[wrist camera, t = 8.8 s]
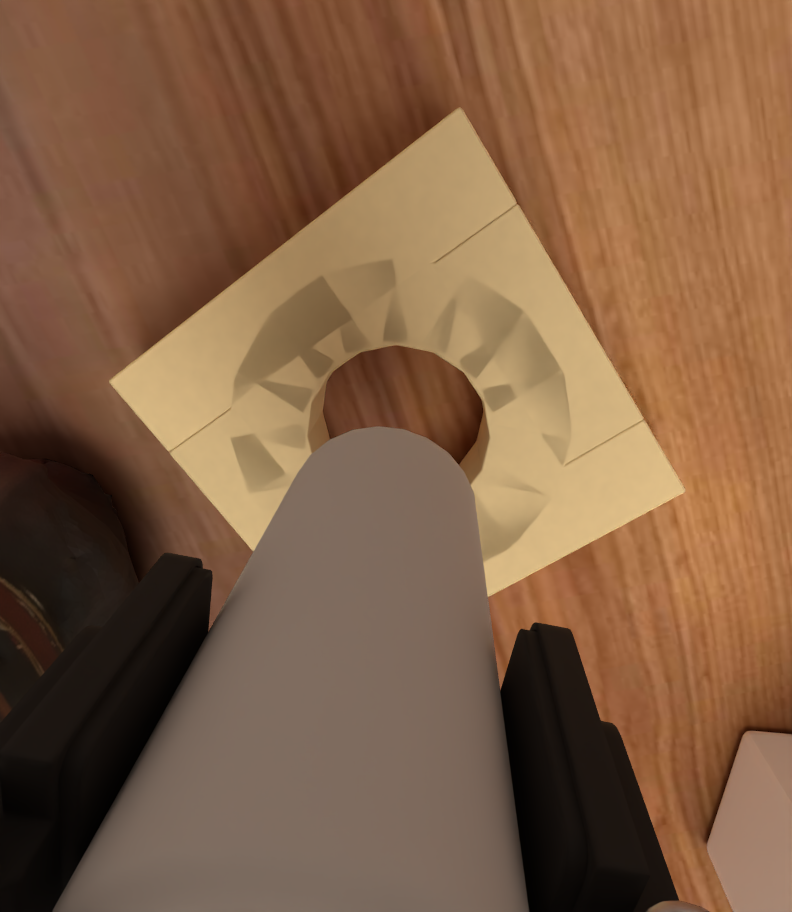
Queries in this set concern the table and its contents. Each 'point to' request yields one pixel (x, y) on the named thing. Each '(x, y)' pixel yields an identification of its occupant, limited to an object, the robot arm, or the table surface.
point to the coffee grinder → (53, 566)
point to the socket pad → (420, 327)
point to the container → (756, 826)
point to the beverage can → (331, 716)
